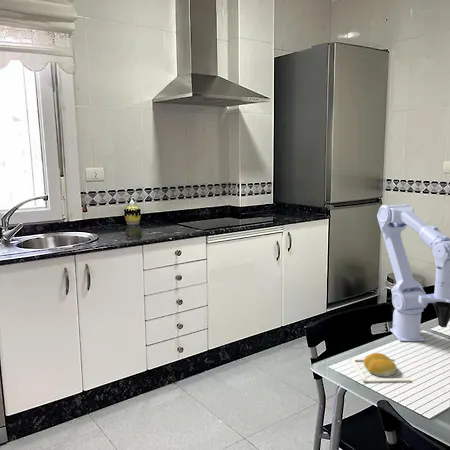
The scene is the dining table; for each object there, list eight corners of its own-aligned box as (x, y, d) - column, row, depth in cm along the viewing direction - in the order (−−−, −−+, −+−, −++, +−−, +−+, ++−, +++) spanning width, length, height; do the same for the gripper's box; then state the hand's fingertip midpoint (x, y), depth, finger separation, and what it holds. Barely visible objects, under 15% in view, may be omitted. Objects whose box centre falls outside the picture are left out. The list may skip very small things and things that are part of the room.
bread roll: (373, 379, 122) (373, 365, 122) (360, 363, 131) (360, 350, 130) (402, 377, 123) (403, 363, 122) (387, 361, 132) (388, 348, 131)
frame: (349, 359, 133) (349, 358, 133) (392, 359, 133) (392, 357, 133) (363, 382, 120) (363, 380, 120) (410, 381, 120) (410, 380, 120)
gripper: (427, 286, 127) (424, 331, 129) (478, 285, 127) (474, 331, 129) (416, 278, 134) (413, 322, 136) (465, 278, 134) (461, 321, 136)
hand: (442, 326), depth 133 cm, fingers closed
